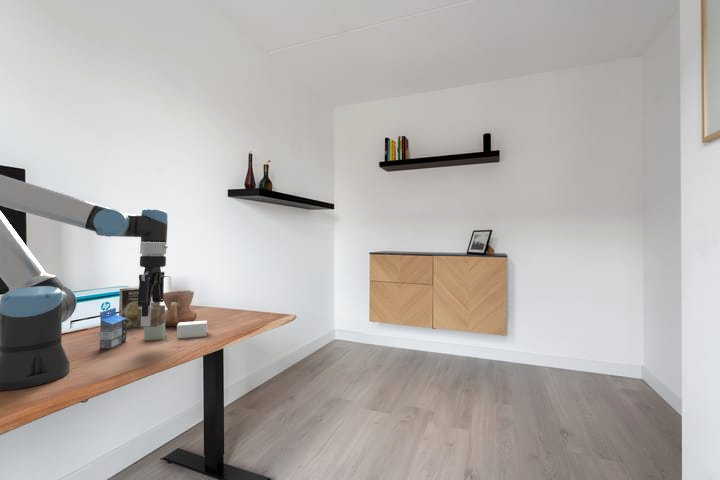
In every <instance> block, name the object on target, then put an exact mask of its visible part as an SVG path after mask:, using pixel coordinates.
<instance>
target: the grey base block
mask: <svg viewBox="0 0 720 480" xmlns="http://www.w3.org/2000/svg"><path fill="white" fill-rule="evenodd" d="M207 335H208V320H198V321H197V320H196V321H195V320H194V321H193V322H179V323H178V325H177V326H176V339H186V338H196V337H198V338H199V337H207Z"/></svg>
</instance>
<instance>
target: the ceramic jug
mask: <svg viewBox="0 0 720 480" xmlns="http://www.w3.org/2000/svg"><path fill="white" fill-rule="evenodd" d="M194 293H195V292H194V290H191V289H190V290H188V289H187V290H186V289H184V290H181V289H179V290H171V291H167V292H164V298H163V299H162V300H164V301H163V303H164V305H165V308H166V309H167V310H165V326H168V327H177V325H178V323H179V322H193V321H195V320H196V319H197V316H198V315H197V312H196V311H195V310H194V309H191V308H190V306H191V303H192V301H193V298H194Z"/></svg>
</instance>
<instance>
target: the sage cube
mask: <svg viewBox="0 0 720 480" xmlns="http://www.w3.org/2000/svg"><path fill="white" fill-rule="evenodd" d="M143 332H144V333H143V336H144V337H143V341H154V340H163V339H164V338H165V335H166V325H165V323H163V324H161V325H159V326H158V327H143Z"/></svg>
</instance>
